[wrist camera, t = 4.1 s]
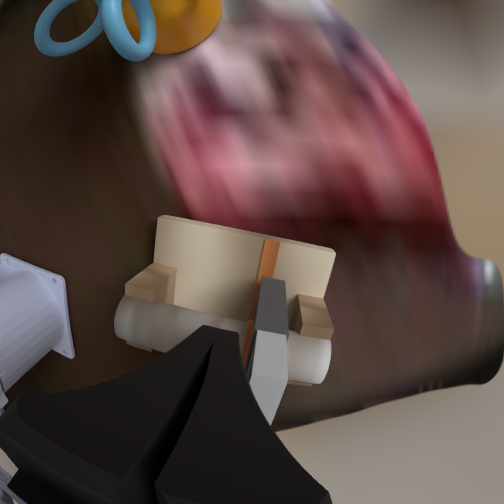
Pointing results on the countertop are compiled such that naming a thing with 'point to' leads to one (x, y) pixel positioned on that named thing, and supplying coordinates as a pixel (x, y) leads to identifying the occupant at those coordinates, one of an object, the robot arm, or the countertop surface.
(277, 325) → the grey bent plate
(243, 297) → the pipe rig
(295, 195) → the countertop surface
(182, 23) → the yellow blue ringed piece
